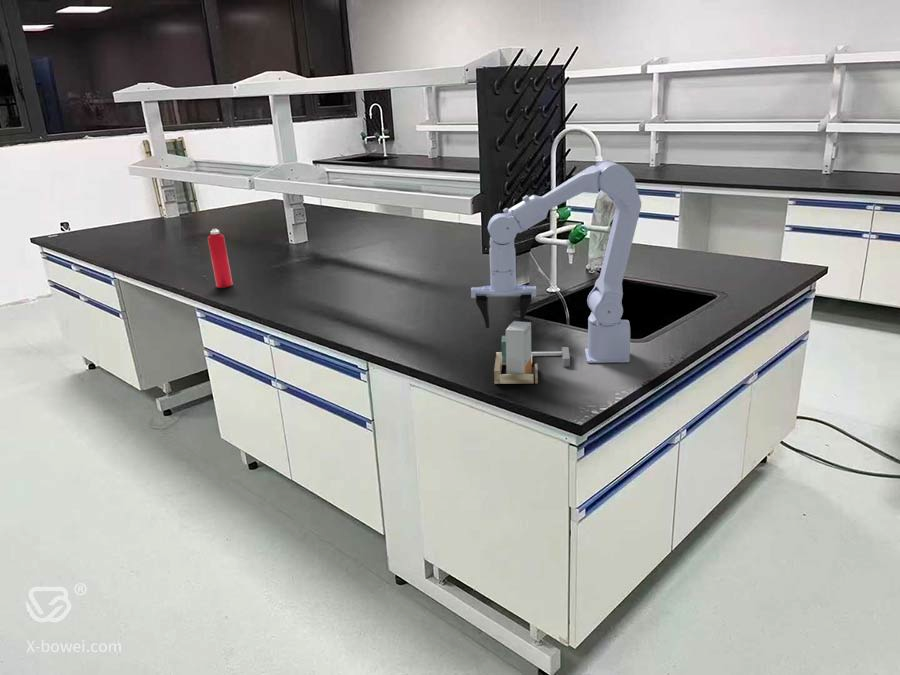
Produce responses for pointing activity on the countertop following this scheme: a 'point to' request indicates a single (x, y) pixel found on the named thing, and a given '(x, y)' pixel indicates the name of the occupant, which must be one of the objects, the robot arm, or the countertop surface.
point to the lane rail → (564, 355)
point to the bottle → (219, 259)
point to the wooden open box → (511, 378)
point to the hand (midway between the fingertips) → (504, 326)
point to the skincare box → (518, 348)
